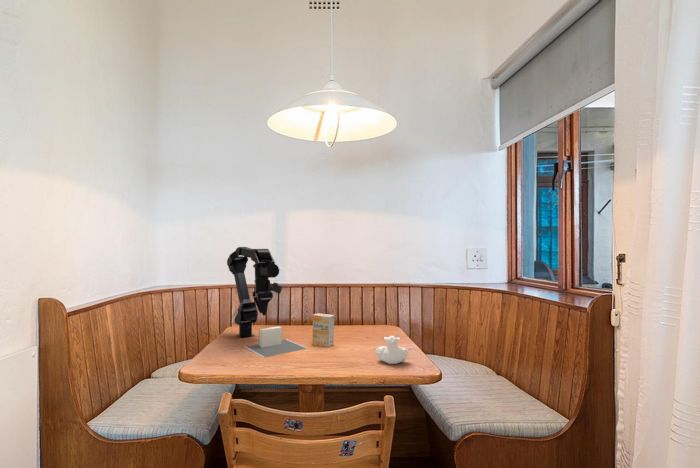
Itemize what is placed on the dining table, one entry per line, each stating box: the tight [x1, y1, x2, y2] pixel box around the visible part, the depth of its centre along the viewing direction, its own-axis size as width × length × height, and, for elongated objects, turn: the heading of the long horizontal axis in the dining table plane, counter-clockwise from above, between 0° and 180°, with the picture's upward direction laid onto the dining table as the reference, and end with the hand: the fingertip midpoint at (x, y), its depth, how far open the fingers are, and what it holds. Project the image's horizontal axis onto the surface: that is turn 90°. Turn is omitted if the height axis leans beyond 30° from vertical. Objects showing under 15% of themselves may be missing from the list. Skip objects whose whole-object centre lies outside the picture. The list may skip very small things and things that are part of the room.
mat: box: [244, 338, 309, 359], centre depth 154 cm, size 18×20×1 cm
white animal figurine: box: [375, 335, 409, 365], centre depth 136 cm, size 12×8×11 cm
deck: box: [258, 325, 283, 348], centre depth 158 cm, size 3×9×7 cm, turn 129°
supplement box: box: [311, 312, 335, 348], centre depth 159 cm, size 8×5×13 cm, turn 65°
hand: (262, 314), depth 161 cm, fingers open, 9 cm apart
